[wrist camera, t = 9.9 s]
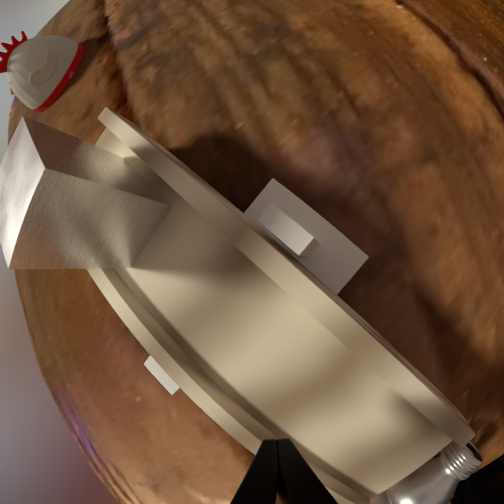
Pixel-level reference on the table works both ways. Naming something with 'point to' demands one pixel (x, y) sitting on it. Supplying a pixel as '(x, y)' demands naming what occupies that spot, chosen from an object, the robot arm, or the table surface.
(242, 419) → the balance beam
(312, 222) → the beam stand
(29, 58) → the kitchen timer
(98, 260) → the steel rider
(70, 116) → the table surface
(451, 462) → the silver metal bottle
